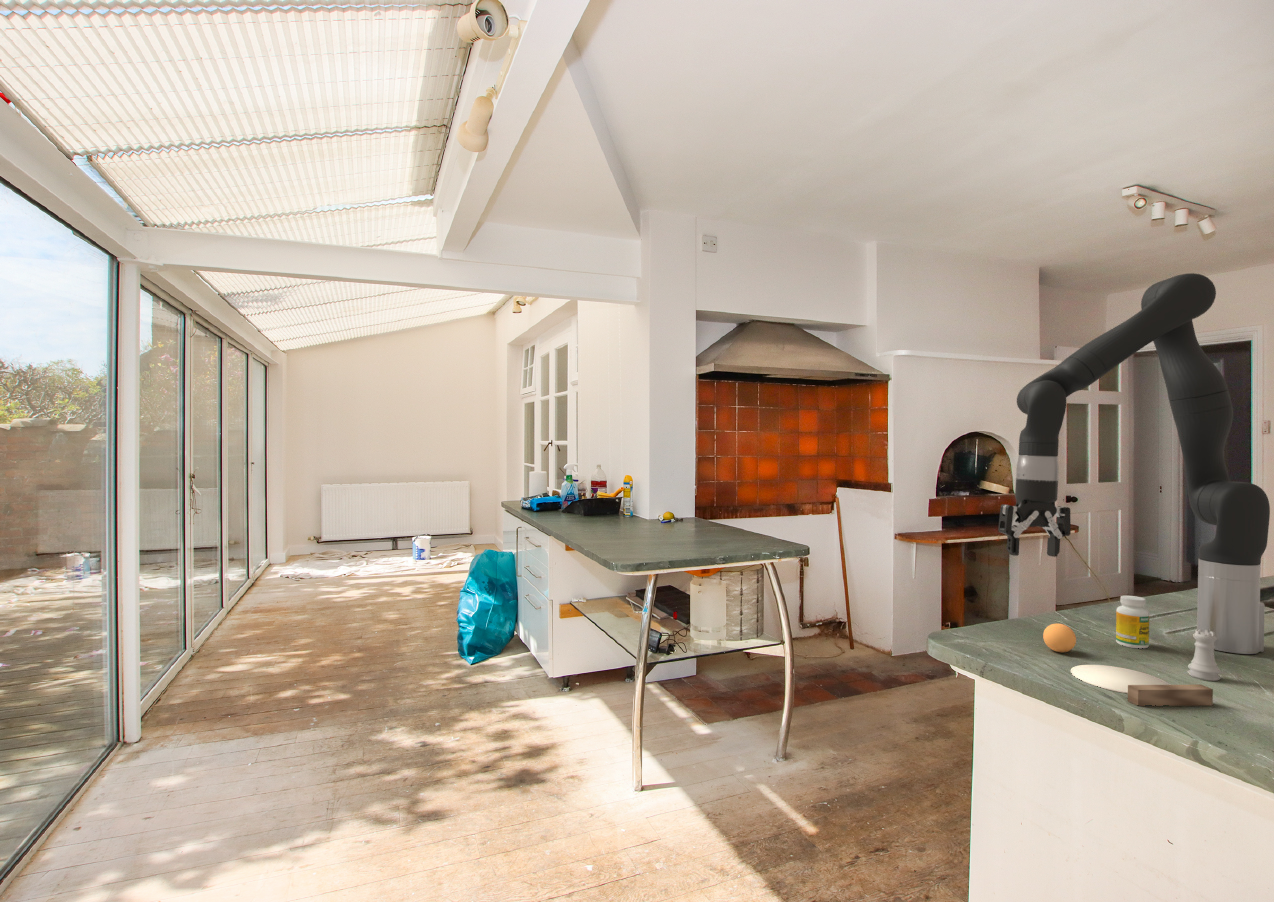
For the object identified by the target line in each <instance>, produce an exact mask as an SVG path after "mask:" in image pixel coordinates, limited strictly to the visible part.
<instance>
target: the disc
mask: <svg viewBox="0 0 1274 902" xmlns="http://www.w3.org/2000/svg"><path fill="white" fill-rule="evenodd" d="M1071 673H1072V674H1071ZM1070 674H1071V675H1072V676H1073V677H1074V676H1075V677H1074V678H1076V679H1077V678H1078V679H1077V680H1079V679H1080V680H1079V681H1081V680H1082V681H1081V682H1084V683H1085V684H1088V685H1091V686H1094V687H1097V686H1098V688H1100V687H1101V689H1105V690H1107V691H1113V692H1118V693H1123V694H1128V685H1171V684H1170V683H1168V681H1165V680H1163V679H1161V678H1159V677H1157V676H1154V675H1152V674H1148V673H1145V672H1142V671H1138V670H1134V669H1129V668H1125V667H1119V666H1113V665H1112V666H1111V665H1103V664H1081V665H1076V666H1073V667H1072V668H1071V669H1070Z"/></svg>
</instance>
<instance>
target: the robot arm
mask: <svg viewBox="0 0 1274 902" xmlns="http://www.w3.org/2000/svg"><path fill="white" fill-rule="evenodd" d="M1216 289H1217V288H1216V286H1215V284H1214V282H1213V281H1212V280H1211V279H1210V278H1209V277H1207V276H1206V275H1203V274H1200V273H1193V272H1191V273H1189V272H1188V273H1183V274H1177V275H1174V276H1172V277H1169V278H1166V279H1163V280H1160V281H1157V282H1156V283H1153V284H1152V285H1150V286H1149V287H1148V288H1147V289H1146V290H1145V291H1144V293H1143V295H1142V298H1141V303H1140V306H1141V310H1140V311H1138V312H1137V313H1135V314H1134V315H1132V316H1131V317H1129V318H1128V319H1126V320H1125V321H1122V323H1120V324H1118V325H1116V326H1114V327H1113V328H1110V329H1109V330H1107V331H1106V332H1103V333H1102V334H1101V335H1099V336H1097V337H1095V338H1094V339H1092V340H1090V341H1089V342H1087V343H1086V344H1084V345H1083V346H1081V347H1080V348H1078V349H1077V350H1076V351H1074V352H1073V353H1072V354H1070V355H1069V356H1067V357H1066V358H1064V360H1062V361H1061V362H1060V363H1059V364H1057V365H1056V366H1055V367H1053V368H1052V369H1049V370H1047V371H1046V372H1045V373H1043V374H1041V375H1039V376H1038V377H1036V378H1035V379H1033V380H1032V381H1030V382H1028V383H1027V384H1026V385H1025V386H1023V387H1022V388H1021V389H1020V390H1019V391H1018V394H1017V397H1016V406H1017V408H1018V409H1019V411H1020V412H1022V413H1023V414H1025V415H1027V417H1026V421H1025V422H1026V423H1025V427H1024V428H1023V429H1022V430H1021V431H1020V432H1019V433H1020V434H1019V440H1018V441H1019V442H1018V457H1017V463H1016V467H1015V468H1016V469H1015V472H1016V473H1015V490H1014V498H1015V501H1016V502H1015V505H1009V504H1004V503H1003V504H1001V505H1000V507H999V518H998V527H997V528H998V529H997V531H998V532H999V533H1001V534H1004V535H1005V536H1007V538H1006V539H1007V542H1006V550H1007V552H1008V555H1010V556H1014V557H1015V556H1016V557H1017V556H1019V554H1020V541H1021V540H1020V539H1021V538H1020V535H1021V534H1022V533H1023V532H1024V531H1025V530H1028V528H1029V527H1031V528H1035V527H1037V528H1038V527H1039V528H1042V529H1043V530H1045V532H1046V534H1047V535H1048V536H1049V537H1047V546H1046V554H1047V556H1048V557H1053V558H1056V557H1058V555H1059V554H1060V552H1061V551H1060V549H1061V539H1062V538H1063V537H1069V536H1071V533H1072V531H1071V527H1072V525H1071V508H1070V507H1068V506H1063V505H1059V506H1056V502H1057V501H1058V492H1059V473H1060V472H1059V470H1060V469H1059V468H1060V467H1059V442H1060V441H1059V436H1060V431H1061V429H1062V426H1063V422H1064V419H1065V414H1066V410H1067V409H1066V408H1067V398H1068V397H1069V396H1070V395H1073V394H1074V393H1076V392H1078V391H1081V390H1084V389H1086V388H1088V387H1089V386H1091V385H1092V384H1094V383H1095V382H1096V381H1098V380H1099V379H1101V378H1102V377H1103V376H1105V375H1106V374H1108V373H1109V372H1110V371H1112V370H1113V369H1115V368H1116V367H1117V366H1119V365H1121V364H1122V363H1123V362H1124V361H1126V360H1127V359H1128V358H1130V357H1131V356H1132V355H1134V354H1136V353H1137V352H1139V350H1142V349H1143V348H1144V347H1145V346H1147V345H1149V344H1150V343H1152V342H1153V344H1154V347H1155V350H1156V353H1157V357H1158V360H1159V365H1160V369H1161V372H1162V376H1163V380H1164V384H1165V387H1166V392H1167V396H1168V401H1169V402H1168V403H1169V407H1170V409H1171V410H1170V411H1171V414H1172V417H1173V421H1174V425H1175V427H1176V430H1177V435H1178V440H1179V446H1180V448H1181V449H1180V450H1181V453H1182V457H1183V463H1184V469H1185V477H1186V486H1187V494H1188V495H1187V496H1188V501H1189V506H1190V508H1191V511H1192V513H1193V514H1194V516H1195V517H1196V518H1197V520H1199V521H1201V522H1202V523H1205V524H1208V525H1212V526H1216V527H1215V528H1216V529H1215V536H1214V538H1213V539H1212V540H1211V541H1208V542H1205V543H1202V544H1201V545H1200V546H1199V548H1198V562H1197V563H1198V567H1197V570H1198V571H1197V575H1198V576H1197V609H1196V611H1197V614H1196V630H1198V629H1200V630H1202V632H1205V630H1208V631H1209V633H1210V631H1212V632H1214V633H1215V637H1216V638H1217V640H1216V641H1215V642H1214V646H1215V648H1214V651H1215V650H1216V651H1220V652H1225V653H1226V652H1227V653H1231V654H1232V653H1233V654H1241V655H1255V654H1256V655H1257V654H1258V653H1259V652H1264V650H1265V649H1264V648H1265V647H1264V646H1265V612H1266V611H1265V610H1266V609H1265V606H1266V605H1265V602H1262V601H1261V569H1262V568H1261V566H1262V565H1261V563H1262V556H1263V554H1265V550H1266V549H1267V546H1268V537H1269V528H1270V520H1271V519H1270V516H1271V508H1270V500H1269V497H1268V496H1267V493H1266V492H1265V491H1264V489H1263V488H1261V487H1260V486H1259V485H1256V484H1254V483H1252V482H1246V481H1233V480H1231V479H1230V476H1229V472H1228V469H1227V466H1226V462H1225V461H1226V460H1225V452H1224V451H1225V447H1226V442H1227V439H1228V437H1229V433H1230V432H1231V429H1232V424H1233V420H1234V408H1233V407H1234V406H1233V403H1232V400H1231V399H1232V398H1231V394H1230V391H1229V387H1228V385H1227V381H1226V380H1225V377H1224V376H1223V374H1222V373H1221V371H1220V370H1219V369H1218V368H1217V366H1216V364H1215V363H1214V362H1213V361H1212V360H1211V359H1210V358H1209V356H1207V354H1206V353H1205V351H1204V350H1203V349H1202V347H1201V346H1200V343H1199V341H1198V339H1197V336H1196V335H1197V334H1196V332H1195V331H1196V330H1195V327H1194V323H1193V320H1195V319H1197V318H1198V317H1201V316H1202V315H1204V314H1205V313H1207V311H1209V310H1210V309H1211V307H1212V305H1213V304H1214V303H1215V300H1216V295H1217V290H1216ZM1014 515H1016V516H1015V518H1014V519H1013V517H1014ZM1055 516H1056V521H1055V519H1054V517H1055Z"/></svg>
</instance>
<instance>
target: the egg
mask: <svg viewBox="0 0 1274 902" xmlns="http://www.w3.org/2000/svg"><path fill="white" fill-rule="evenodd" d="M1042 634H1043V635H1042V637H1043V642H1044V644H1045V645H1046V646H1047V647H1048V648H1049V649H1050V650H1052V651H1054V652H1057V653H1067V652H1070V651H1072V650H1073V649H1074V647H1075V646H1076V644H1077V636H1076V634H1075V632H1074V630H1072V628H1071V627H1069V626H1067V625H1066V624H1063V623H1051V624H1049V625H1048V626H1046V628H1045V629H1044V630H1043V633H1042Z"/></svg>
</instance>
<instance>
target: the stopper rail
mask: <svg viewBox="0 0 1274 902" xmlns="http://www.w3.org/2000/svg"><path fill="white" fill-rule="evenodd" d="M1213 694H1214V689H1213V688H1211V687H1208V686H1206V685H1204V684H1170V685H1128V693H1127V702H1129V703H1130V704H1133V705H1135V706H1137V705H1139V706H1138V707H1146V706H1145V705H1152V706H1151V707H1160V706H1163V705H1169V707H1170V706H1171V707H1172V706H1173V707H1175V706H1176V707H1178V706H1179V707H1180V706H1182V707H1183V706H1185V707H1186V706H1191V707H1192V706H1194V707H1195V706H1213V705H1214V704H1213V702H1214V696H1213ZM1155 705H1156V706H1155ZM1163 707H1164V706H1163Z"/></svg>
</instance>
